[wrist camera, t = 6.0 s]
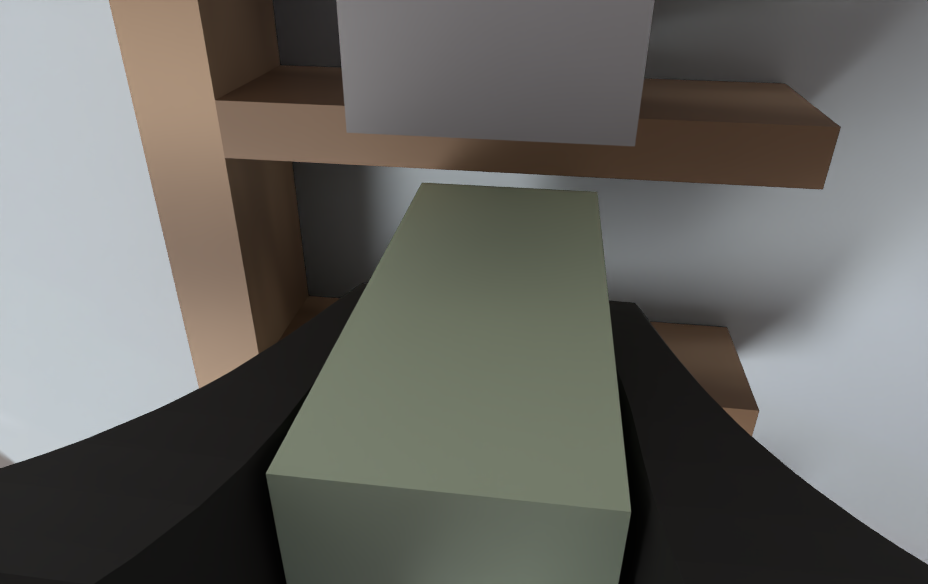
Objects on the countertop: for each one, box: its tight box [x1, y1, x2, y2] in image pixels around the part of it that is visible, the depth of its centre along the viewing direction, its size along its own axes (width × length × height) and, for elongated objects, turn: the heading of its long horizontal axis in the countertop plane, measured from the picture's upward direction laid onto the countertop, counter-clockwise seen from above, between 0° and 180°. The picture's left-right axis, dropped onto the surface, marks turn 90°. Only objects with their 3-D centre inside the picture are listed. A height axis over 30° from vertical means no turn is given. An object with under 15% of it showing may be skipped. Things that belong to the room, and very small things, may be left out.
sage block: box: [266, 183, 631, 584], centre depth 9 cm, size 3×3×7 cm
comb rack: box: [109, 0, 841, 436], centre depth 14 cm, size 18×12×3 cm, turn 179°
